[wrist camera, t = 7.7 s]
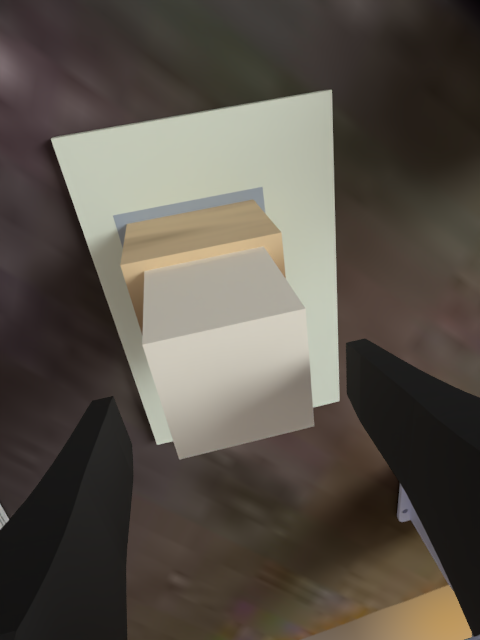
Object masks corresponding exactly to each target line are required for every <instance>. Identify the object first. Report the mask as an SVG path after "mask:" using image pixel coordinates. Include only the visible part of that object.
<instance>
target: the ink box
mask: <svg viewBox="0 0 480 640" xmlns="http://www.w3.org/2000/svg"><path fill="white" fill-rule="evenodd" d="M8 521H9V518H8V517H7V515H6V513H5V511H4V510H3V508H2V506H1V504H0V529H1V528H2V527H3V526H4V525H5V524H6V523H7V522H8Z"/></svg>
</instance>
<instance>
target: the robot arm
mask: <svg viewBox="0 0 480 640" xmlns="http://www.w3.org/2000/svg"><path fill="white" fill-rule="evenodd" d="M346 368H347V395H348V397H349V399H350V401H351V404H352V406H353V408H354V410H355V412H356V414H357V416H358V418H359V420H360V422H361V423H362V425H363V427H364V428H365V430H366V431H367V433H368V434H369V436H370V438H371V439H372V441H373V442H374V444H375V445H376V447H377V448H378V450H379V451H380V453H381V454H382V456H383V458H384V459H385V461H386V462H387V464H388V465H389V467H390V468H391V470H392V471H393V473H394V474H395V476H396V477H397V479H398V481H399V482H400V487H399V498H398V510H397V518H398V520H399V521H400V522H405V521H409V520H411V521H412V523H413V525H414V526H415V528H416V530H417V531H418V533H419V535H420V537H421V538H422V540H423V542H424V543H425V545H426V547H427V548H428V550H429V552H430V554H431V555H432V557H433V559H434V560H435V562H436V564H437V565H438V567H439V569H440V571H441V572H442V574H443V576H444V577H445V579H446V581H447V582H448V584H449V585H450V587H451V588H452V590H453V591H454V592H455V595H456V597H457V599H458V601H459V604H460V606H461V608H462V610H463V613H464V615H465V617H466V619H467V622H468V624H469V626H470V629H471V631H472V637H471V638H468V639H465V640H480V398H479V397H477V396H474V395H472V394H469V393H467V392H464V391H462V390H460V389H458V388H455V387H453V386H451V385H449V384H447V383H445V382H443V381H441V380H439V379H437V378H435V377H433V376H431V375H429V374H427V373H425V372H423V371H421V370H419V369H417V368H416V367H414V366H412V365H410V364H408V363H407V362H405V361H403V360H401V359H400V358H398V357H396V356H394V355H393V354H391V353H389V352H388V351H386V350H384V349H382V348H381V347H379V346H377V345H376V344H374V343H372V342H370V341H368V340H367V339H361V340H357V341H352V342H348V343H346ZM132 487H133V454H132V443H131V441H130V438H129V436H128V433H127V430H126V428H125V425H124V423H123V420H122V418H121V415H120V413H119V410H118V407H117V405H116V402H115V400H114V397H113V396H111V397H107V398H103V399H98V400H94V401H92V402H91V404H90V405H89V407H88V408H87V410H86V412H85V413H84V415H83V417H82V418H81V420H80V422H79V423H78V425H77V426H76V428H75V430H74V431H73V433H72V435H71V436H70V438H69V439H68V441H67V443H66V444H65V446H64V447H63V449H62V450H61V452H60V453H59V455H58V457H57V458H56V460H55V461H54V463H53V464H52V465H51V467H50V468H49V470H48V471H47V472H46V474H45V475H44V477H43V478H42V479H41V481H40V482H39V484H38V485H37V486H36V488H35V489H34V490H33V492H32V493H31V494H30V496H29V497H28V498H27V499H26V501H25V502H24V503H23V504H22V505H21V507H20V508H19V509H18V510H17V511H16V512H15V514H14V515H13V516H12V517H11V518H10V519H9V521H8V522H7V523H6V524H5V525H4V526H3V527H2V528H1V529H0V640H127V609H126V557H127V543H128V532H129V521H130V510H131V499H132Z"/></svg>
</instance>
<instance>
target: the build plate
mask: <svg viewBox="0 0 480 640" xmlns="http://www.w3.org/2000/svg"><path fill="white" fill-rule="evenodd" d="M51 141H52V144H53V147H54V150H55V153H56V156H57V159H58V161H59V164H60V167H61V170H62V173H63V176H64V179H65V182H66V184H67V187H68V190H69V193H70V196H71V199H72V202H73V205H74V207H75V210H76V213H77V216H78V219H79V222H80V225H81V228H82V230H83V233H84V236H85V239H86V242H87V245H88V248H89V251H90V253H91V256H92V259H93V262H94V265H95V268H96V271H97V274H98V276H99V279H100V282H101V285H102V288H103V291H104V294H105V297H106V299H107V302H108V305H109V308H110V311H111V314H112V317H113V319H114V322H115V325H116V328H117V331H118V334H119V337H120V340H121V342H122V345H123V348H124V351H125V354H126V357H127V360H128V363H129V365H130V368H131V371H132V374H133V377H134V380H135V383H136V386H137V388H138V391H139V394H140V397H141V400H142V403H143V406H144V409H145V411H146V414H147V417H148V420H149V423H150V426H151V429H152V432H153V434H154V437H155V440H156V443H157V445H159V444H163V443H167V442H171V441H173V438H172V435H171V432H170V429H169V426H168V423H167V420H166V417H165V414H164V411H163V408H162V404H161V401H160V398H159V395H158V392H157V389H156V386H155V383H154V380H153V377H152V373H151V370H150V367H149V364H148V361H147V358H146V355H145V352H144V349H143V346H142V337H143V336H142V333H141V330H140V327H139V323H138V320H137V317H136V314H135V311H134V307H133V304H132V301H131V298H130V295H129V292H128V288H127V285H126V282H125V279H124V276H123V272H122V269H121V266H120V263H121V257H122V251H123V245H124V238H125V232H126V226H127V224H129V223H135V222H140V221H145V220H150V219H155V218H160V217H165V216H170V215H176V214H181V213H186V212H191V211H196V210H201V209H206V208H212V207H217V206H222V205H227V204H232V203H237V202H242V201H248V200H254V201H255V202H256V203H257V204H258V205H259V207H260V208H261V209H262V210H263V211H264V212H265V214H266V215H267V216H268V217H269V218H270V220H271V221H272V222H273V223H274V224H275V225H276V227H277V228H278V229H279V230H280V231H281V233H282V243H283V254H284V264H285V275H286V280H287V282H288V283H289V285H290V286H291V287H292V289H293V290H294V292H295V293H296V295H297V296H298V298H299V299H300V301H301V302H302V304H303V305H304V307H305V308H306V320H307V334H308V347H309V361H310V374H311V388H312V402H313V407H317V406H321V405H325V404H329V403H334V402H338V401H339V363H338V321H337V280H336V238H335V197H334V155H333V114H332V90H322V91H316V92H310V93H304V94H299V95H293V96H287V97H281V98H276V99H270V100H264V101H258V102H253V103H247V104H241V105H235V106H230V107H224V108H218V109H212V110H207V111H201V112H195V113H189V114H184V115H178V116H172V117H166V118H161V119H155V120H149V121H143V122H138V123H132V124H126V125H120V126H115V127H109V128H103V129H97V130H92V131H86V132H80V133H74V134H69V135H63V136H57V137H53V138H51Z"/></svg>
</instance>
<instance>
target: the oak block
mask: <svg viewBox="0 0 480 640" xmlns="http://www.w3.org/2000/svg"><path fill="white" fill-rule="evenodd" d="M262 246H264V247H265V249H266V250H267V252H268V253H269V255H270V256H271V258H272V259H273V261H274V262H275V264H276V265H277V267H278V268H279V270H280V271H281V273H282V274H283V276H284V277H285V279H286V275H285V264H284V254H283V243H282V233H281V231H280V230H279V229H278V228H277V227H276V225H275V224H274V223H273V222H272V221H271V220H270V218H269V217H268V216H267V215H266V214H265V212H264V211H263V210H262V209H261V208H260V207H259V205H258V204H257V203H256V202H255V201H254V200H248V201H242V202H237V203H232V204H227V205H222V206H217V207H212V208H206V209H201V210H196V211H191V212H186V213H181V214H176V215H170V216H165V217H160V218H155V219H150V220H145V221H140V222H135V223H129V224H127V226H126V232H125V238H124V245H123V251H122V257H121V263H120V266H121V269H122V272H123V276H124V279H125V282H126V285H127V288H128V292H129V295H130V298H131V301H132V304H133V307H134V311H135V314H136V317H137V320H138V323H139V327H140V330H141V333H142V336H143V303H144V271H147V270H152V269H156V268H161V267H166V266H171V265H176V264H180V263H185V262H190V261H195V260H200V259H204V258H209V257H214V256H219V255H224V254H228V253H233V252H238V251H243V250H248V249H252V248H257V247H262Z"/></svg>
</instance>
